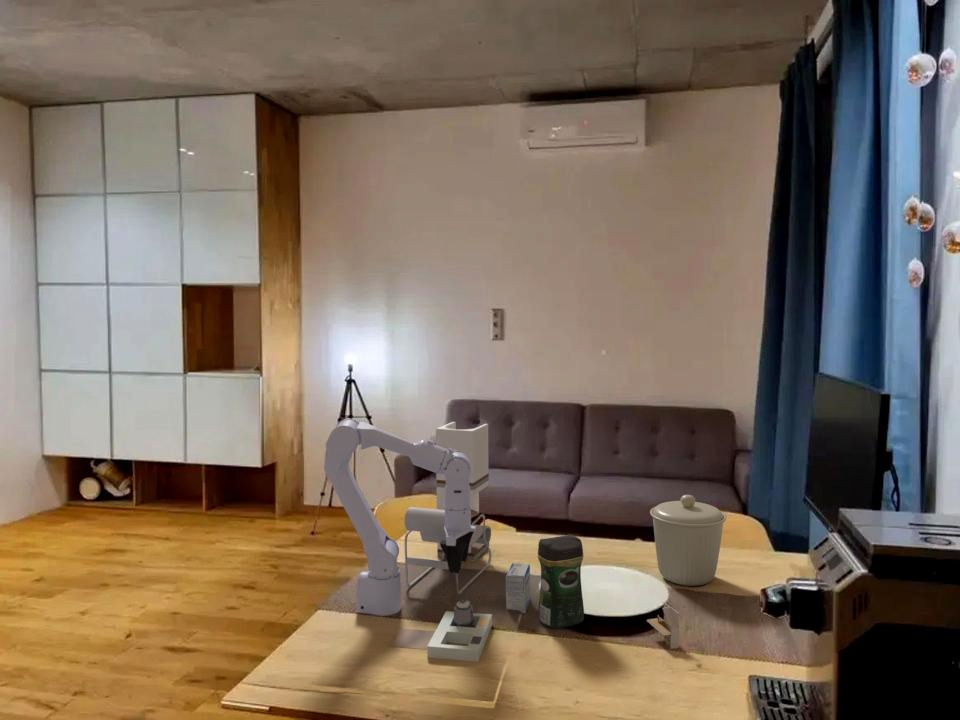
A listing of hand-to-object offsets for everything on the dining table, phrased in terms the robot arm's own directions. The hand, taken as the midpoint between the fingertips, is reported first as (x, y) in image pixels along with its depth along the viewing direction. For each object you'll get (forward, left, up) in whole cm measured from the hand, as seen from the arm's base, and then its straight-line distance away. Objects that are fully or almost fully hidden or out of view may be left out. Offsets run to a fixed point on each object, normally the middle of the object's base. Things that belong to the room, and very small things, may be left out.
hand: (458, 566), depth 165 cm
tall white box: (-7, +37, -10) cm, 39 cm away
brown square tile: (-6, -17, -10) cm, 21 cm away
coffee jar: (+23, -2, -10) cm, 25 cm away
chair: (-6, +19, -10) cm, 22 cm away
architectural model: (+45, -8, -11) cm, 47 cm away
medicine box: (+13, +4, -10) cm, 17 cm away
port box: (+4, -16, -10) cm, 19 cm away
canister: (+52, +27, -10) cm, 59 cm away
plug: (+4, -12, -10) cm, 16 cm away
